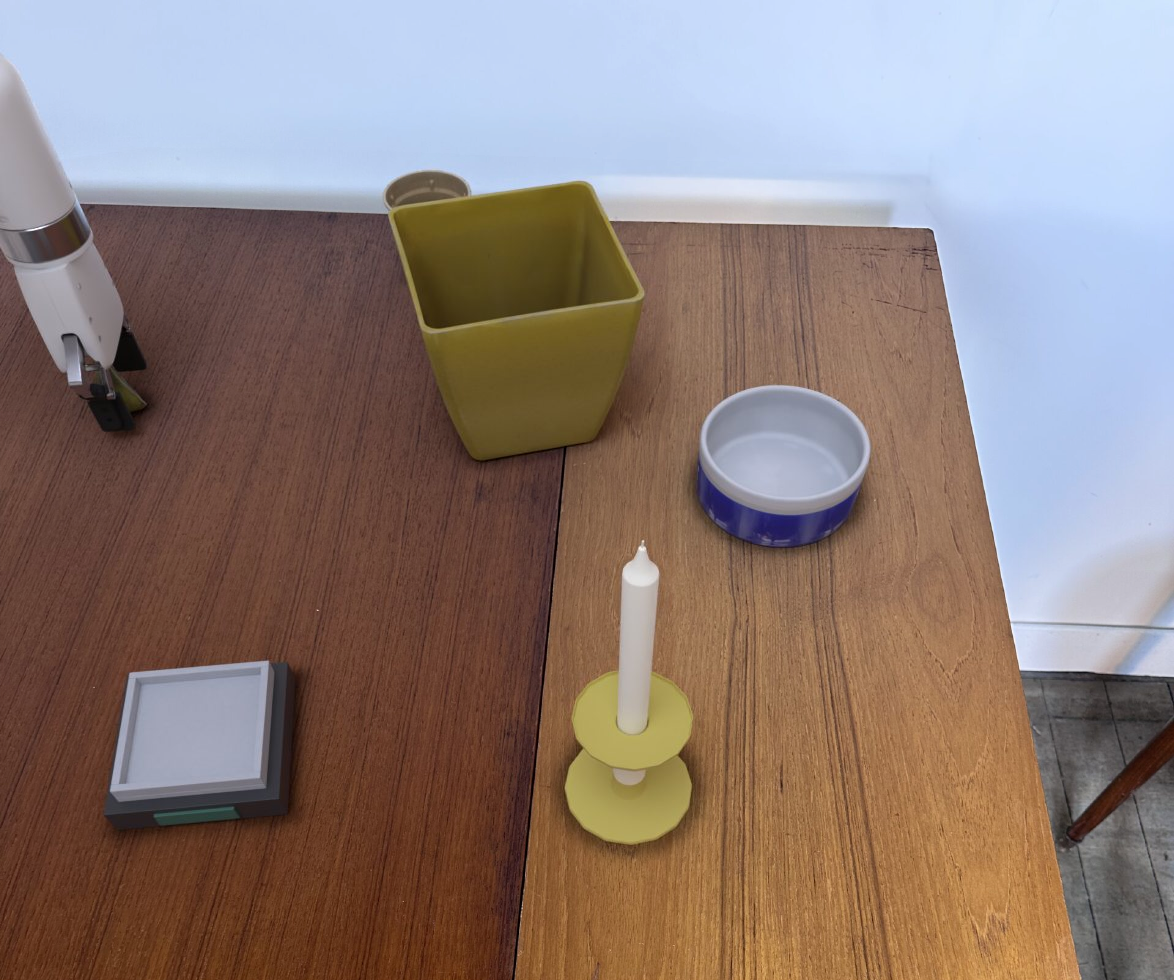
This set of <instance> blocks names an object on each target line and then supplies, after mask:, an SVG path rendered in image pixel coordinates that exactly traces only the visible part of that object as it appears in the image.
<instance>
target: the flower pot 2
mask: <svg viewBox="0 0 1174 980" xmlns="http://www.w3.org/2000/svg"><path fill="white" fill-rule="evenodd" d="M387 217H388V221H389V225H390V228H391V232H392V236H393V240H394V243H395V246H396V249H397V253H398V256H399V260H400V263H401V266H402V267H401V268H402V271H403V273H404V277H405V280H406V285H407V287H408V290H409V294H410V298H411V301H412V304H413V307H414V311H415V315H416V318H417V321H418V325H419V330H420V332H421V336H422V339H423V344H424V347H425V350H426V353H427V356H428V360H429V363H430V366H431V369H432V373H433V375H434V378H435V381H436V384H437V387H438V390H439V393H440V395H441V398H442V400H443V403H444V406H445V409H446V410H447V413H448V416H449V417H450V419H451V421H452V423H453V425H454V428H455V430H456V432H457V434H458V436H459V437H460V439H461V442H462V443H463V445H464V447H465V449H466V451H467V452H468V454H469V456H470V457H471V458H472V459H473V460H477V461H487V460H493V459H498V458H504V457H509V456H516V455H520V454H527V453H533V452H538V451H539V452H540V451H543V450H544V451H545V450H549V449H556V448H561V447H567V446H573V445H578V444H583V443H589V442H592V441H594V440H595V439H596V438H597V436H598V434H599V432H600V430H601V429H602V427H603V425H604V423H605V420H606V419H607V416H608V414H609V412H610V410H611V407H612V406H613V404H614V401H615V399H616V396H617V394H618V391H619V388H620V386H621V383H622V382H623V378H624V375H625V372H626V369H627V366H628V363H629V360H630V357H631V354H632V350H633V347H634V343H635V340H636V335H637V332H638V327H639V323H640V319H641V315H642V309H643V304H644V299H645V290H644V287H643V286H642V284H641V282H640V280H639V278H638V275H637V274H636V272H635V270H634V268H633V265H632V263H631V261H630V260H629V257H628V256H627V254H626V252H625V249H624V247H623V245H622V243H621V242H620V239H619V237H618V236H617V234H616V231H615V229H614V228H613V225H612V223H611V221H610V218H609V217H608V215H607V213H606V211H605V209H604V207H603V205H602V203H601V200H600V199H599V197H598V194H597V192H596V191H595V188H594V186H593V184H591V183H590V182H588V181H585V180H572V181H567V182H560V183H553V184H545V185H539V186H531V187H525V188H524V187H523V188H517V189H509V190H502V191H495V192H488V193H480V194H473V195H471V196H465V197H458V198H451V199H444V200H437V201H430V202H423V203H416V204H408V205H402V206H398V207H395V208H393V209H391V210H390V211H389V210H388V212H387Z"/></svg>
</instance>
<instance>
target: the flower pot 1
mask: <svg viewBox="0 0 1174 980" xmlns="http://www.w3.org/2000/svg"><path fill="white" fill-rule="evenodd" d="M465 196H472V189H471V185H470V184H469V182H468V181H466V179H464V178H463V177H461V176H460V175H458V174H455V173H453V172H448V171H445V170H441V169H421V170H414V171H410V172H407V173H404V174H402V175H400V176H398V177H396V178H394V179H393V180H391V181H390V182H389V183H388V184H386V187H384V189H383V192H382V202H383V204H384V206H385V208H386V210H388V212H389V211H390V210H391V209H393V208H395V207H398V206H402V205H408V204H416V203H423V202H430V201H437V200H444V199H451V198H458V197H465Z"/></svg>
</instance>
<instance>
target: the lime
mask: <svg viewBox="0 0 1174 980" xmlns="http://www.w3.org/2000/svg"><path fill="white" fill-rule="evenodd" d="M109 370H110V374H111V378H112V382H113V386H114V390H115V392H120V394H121V396H122V398H123V400H124V402H125V404H126V406H127V408H128V410H129V412H130V413H131V412H137V411H140V410H142V409H144V408H145V407H146V406H147V403H146V401H144V400H143V398H142V397H141V396H140V394H139V393H138V392H137V391H136V390H134V389H133V387H132V386H131V385H130V384H129V382H128V381H126V379H125V378H124V376H123V375H122V374H121V373H120V372H117V371H116V370H115V369H114V367H113V365H111V367H110V368H109ZM94 383H97V384H100V385H102V386H103V383H102V379H101V375H100V371H95V374H94Z"/></svg>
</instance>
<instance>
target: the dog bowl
mask: <svg viewBox="0 0 1174 980" xmlns="http://www.w3.org/2000/svg"><path fill="white" fill-rule="evenodd" d="M697 455H698V456H697V468H696V469H697V472H696V493H697V498H698V500H699V503H700V505H701V507H702V510H704V512H705V514H706V515H707V516H708V517H709V519H711V521H712V522H713V523H714V524H715V525H716V526H718V527H719V528H720V529H721V530H723V531H724V532H726V533H727V534H730V535H731V536H733V537H735V538H737V539H739V540H742V541H744V542H748V543H750V544H754V545H758V546H763V547H770V548H794V547H801V546H805V545H809V544H810V545H811V544H813V543H816V542H819V541H821V540H823V539H825V538H828V537H829V536H831V535H832V534H834V533H835V532H836V531H837V530H839V528H841V527H842V526H843V525H844V524H845V522H846V521H847V520H848V518H849V516H850V515H851V513H852V511H853V508H854V505H855V503H856V500H857V497H858V495H859V492H860V490H861V486H862V484H863V480H864V477H865V474H866V472H867V470H868V465H869V463H870V459H871V440H870V437H869V434H868V431H867V430H866V427H865V425H864V424H863V422H862V421H861V420H860V418H859V417H858V416H857V414H855V412H853V410H851V409H850V408H849V407H847V406H846V405H845V404H843V403H842V402H840V401H839V400H837V399H835V398H834V397H831V396H829V395H827V394H825V393H823V392H820V391H817V390H813V389H810V388H807V387H801V386H796V385H783V384H771V385H761V386H756V387H755V386H754V387H751V388H747V389H744V390H741V391H739V392H736V393H734V394H732V395H730V396H728V397H726V398H725V399H723V400H722V401H720V402H719V403H718V404H717V405H715V407H713V409H711V411H710V412H709V413H708V414H707V415H706V418H705V419H704V421H703V423H702V426H701V429H700V434H699V441H698V454H697Z"/></svg>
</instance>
